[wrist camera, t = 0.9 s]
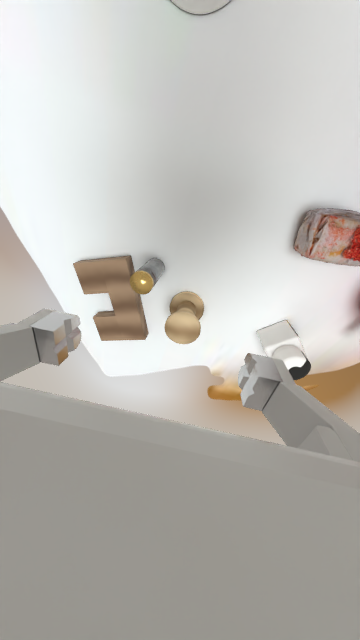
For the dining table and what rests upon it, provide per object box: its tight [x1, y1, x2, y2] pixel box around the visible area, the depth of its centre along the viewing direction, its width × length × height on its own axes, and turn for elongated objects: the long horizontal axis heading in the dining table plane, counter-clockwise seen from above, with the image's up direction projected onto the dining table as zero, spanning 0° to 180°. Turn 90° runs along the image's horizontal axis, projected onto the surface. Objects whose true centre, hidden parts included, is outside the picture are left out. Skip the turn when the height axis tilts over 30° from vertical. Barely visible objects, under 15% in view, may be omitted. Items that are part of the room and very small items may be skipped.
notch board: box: [73, 256, 148, 341], centre depth 46 cm, size 20×12×3 cm, turn 6°
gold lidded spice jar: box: [130, 258, 165, 294], centre depth 38 cm, size 4×4×11 cm
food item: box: [294, 208, 360, 266], centre depth 31 cm, size 14×8×10 cm, turn 83°
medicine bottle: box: [257, 320, 311, 380], centre depth 42 cm, size 7×7×12 cm
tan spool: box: [165, 292, 204, 344], centre depth 42 cm, size 8×8×10 cm
